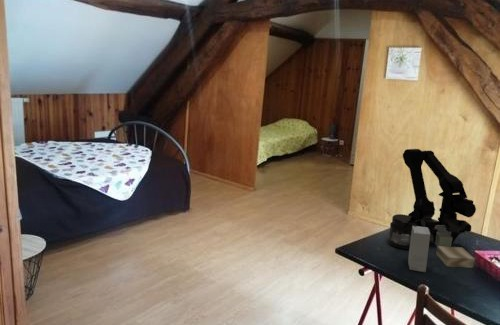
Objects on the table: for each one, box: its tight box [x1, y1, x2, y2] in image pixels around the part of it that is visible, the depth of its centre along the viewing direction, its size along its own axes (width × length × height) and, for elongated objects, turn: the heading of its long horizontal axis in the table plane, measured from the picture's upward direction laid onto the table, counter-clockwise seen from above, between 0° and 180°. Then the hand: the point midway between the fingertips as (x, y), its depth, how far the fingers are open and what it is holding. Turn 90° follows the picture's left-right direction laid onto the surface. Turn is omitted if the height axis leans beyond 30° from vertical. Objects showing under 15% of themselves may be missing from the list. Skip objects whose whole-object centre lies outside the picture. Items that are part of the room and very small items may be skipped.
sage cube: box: [434, 231, 453, 247], centre depth 170 cm, size 5×5×5 cm
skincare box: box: [407, 226, 431, 273], centre depth 149 cm, size 8×6×15 cm
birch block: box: [435, 246, 476, 269], centre depth 156 cm, size 10×10×4 cm
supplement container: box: [387, 213, 417, 250], centre depth 168 cm, size 10×10×12 cm
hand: (442, 243), depth 170 cm, fingers open, 7 cm apart
